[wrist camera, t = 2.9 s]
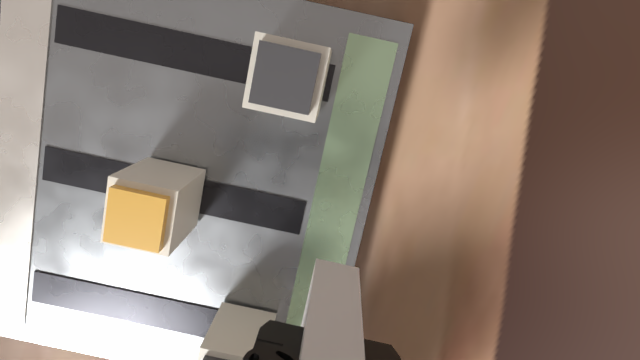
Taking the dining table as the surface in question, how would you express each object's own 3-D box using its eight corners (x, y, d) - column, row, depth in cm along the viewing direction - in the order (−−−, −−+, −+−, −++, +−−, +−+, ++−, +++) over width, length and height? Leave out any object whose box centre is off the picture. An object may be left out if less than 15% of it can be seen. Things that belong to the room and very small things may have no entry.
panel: (-10, 316, 30) (-29, 331, 28) (16, -60, 25) (-5, -69, 23) (321, 386, 30) (320, 404, 28) (409, 26, 25) (414, 24, 23)
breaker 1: (213, 350, 28) (186, 411, 23) (222, 301, 27) (196, 353, 22) (266, 361, 28) (250, 425, 23) (276, 313, 27) (263, 368, 22)
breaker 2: (259, 99, 24) (239, 108, 20) (270, 37, 24) (253, 30, 19) (319, 113, 24) (314, 124, 20) (332, 51, 24) (330, 47, 19)
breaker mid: (140, 212, 26) (94, 246, 21) (147, 156, 25) (102, 178, 20) (197, 224, 26) (164, 261, 21) (206, 169, 25) (174, 194, 20)
